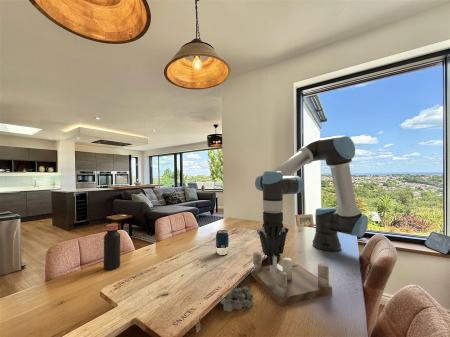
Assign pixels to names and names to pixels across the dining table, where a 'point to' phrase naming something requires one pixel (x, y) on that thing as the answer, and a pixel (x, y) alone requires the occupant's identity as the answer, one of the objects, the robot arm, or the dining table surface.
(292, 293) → the stool seat
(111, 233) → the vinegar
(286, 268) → the hinged leg
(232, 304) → the egg carton
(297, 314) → the dining table surface
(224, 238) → the soda can
